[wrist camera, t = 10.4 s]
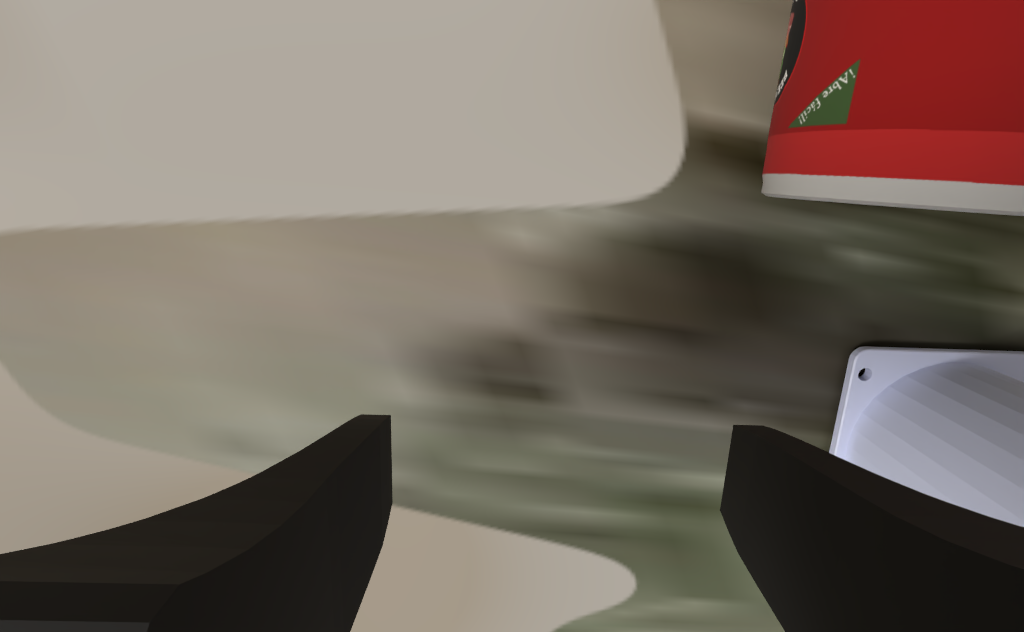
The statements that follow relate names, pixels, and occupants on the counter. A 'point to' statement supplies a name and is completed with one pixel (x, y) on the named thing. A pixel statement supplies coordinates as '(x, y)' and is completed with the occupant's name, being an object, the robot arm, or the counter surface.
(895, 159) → the canned food
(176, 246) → the counter surface
